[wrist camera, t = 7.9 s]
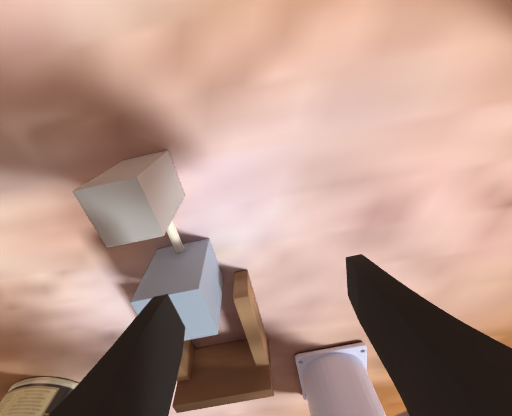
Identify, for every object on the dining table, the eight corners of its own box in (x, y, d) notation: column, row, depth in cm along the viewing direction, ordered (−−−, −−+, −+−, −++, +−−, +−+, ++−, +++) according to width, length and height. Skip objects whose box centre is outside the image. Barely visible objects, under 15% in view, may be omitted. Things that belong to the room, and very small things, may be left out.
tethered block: (223, 278, 21) (218, 334, 17) (176, 287, 22) (157, 345, 17) (177, 147, 16) (149, 174, 11) (114, 162, 16) (60, 193, 11)
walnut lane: (268, 342, 26) (273, 395, 21) (188, 357, 26) (177, 412, 22) (247, 269, 21) (248, 318, 17) (149, 289, 22) (125, 341, 17)
